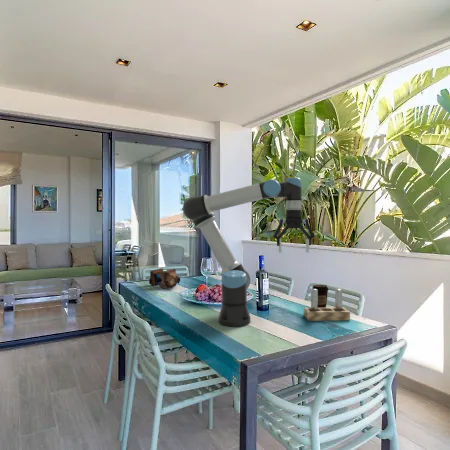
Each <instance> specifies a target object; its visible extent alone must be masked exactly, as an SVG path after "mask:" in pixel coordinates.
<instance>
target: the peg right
mask: <svg viewBox="0 0 450 450" xmlns="http://www.w3.org/2000/svg"><path fill="white" fill-rule="evenodd" d="M334 293H335V295H334V296H335V297H334V298H335V301H334V304H335V305H334V307H335V311H342V307H343V289H342V288H335V292H334Z"/></svg>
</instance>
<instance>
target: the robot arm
mask: <svg viewBox="0 0 450 450" xmlns="http://www.w3.org/2000/svg"><path fill="white" fill-rule="evenodd" d="M273 198H275V199H277V198H285V209H286V210H285V219H282V218H281V219H279V221H278V222H279V223H278V225H277V227H276V230H275V231H274V234H273V236H272V238H274V239H275V240H276V246H277V247H278V253H279V254H281V253H282V239H281V238H282V237H283V236H284V234H285V233H287V231H288V230H289V229H299V230H300V231H301V232H302V233H303V234H304V236H305V237H306V239H305V252H306V253H310V246H311V245H312V239H315V238H316V236H315V233H314V232H313V229H312V228H311V226H310V224H309V223H310V222H309V219H308V218H305V219H303V217H302V213H303V212H302V210H301V209H302V179H301V178H300V177H286V179H285V181H283V182H280V181H278V180H276V179H268V180H266V181H262V182H258V183H255V184H251V185H247V186H243V187H239V188H236V189H232V190H228V191H227V190H226V191H224V192H221V193H215V194H212V195H207V194H203V195H198V196H191V197H189V198H187V199H186V200H185V201H184V202H183V205H182V212H183V214H184V217H186V218H187V219H189V220H191V221H192V223H193V225H194V226H195V228H197V229H200V232H201V233H202V235H203V237H204V239H205V240H206V242H207V244H208V245H209V248H210V249H211V252H212V253H213V255H214V257H215V259H216V260H217V263H218V264H219V266H220V269H221V273H220V275H221V280H220V281H221V308H220V310H219V315H218V323H219V325H222V326H225V327H226V326H227V327H236V328H237V327H243V326H247V325H249V324H250V323H251V314H250V311H249V308H248V306H247V305H248V303H247V299H248V297H247V296H248V295H247V290H248V288H250V285H251V277H250V273H249V272H248V271H247V270H246V269H245V268H244V266H243V264H242V262H238V261H237V260H236V257H235V256H234V254H233V252H232V249H230V247H229V245H228V243H227V241H226V239H225V237H224V235H223V234H222V231H221V230H220V228H219V226H218V224H217V222H216V214H215V212H217V211H220V210H224V209H229V208H233V207H236V206H237V207H238V206H241V205H244V204H248V203H252V202H256V201H260V200H263V199H264V200H265V199H273ZM302 223H303V224H305V227H306V229H307V231H308V232H307V231H306V230H305V228H304V227H303V226H302ZM284 224H286V225H285V227H284V228H283V229H282V230H281V228H282V226H283V225H284ZM280 230H281V231H280ZM279 232H280V233H279Z"/></svg>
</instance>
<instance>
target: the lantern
mask: <svg viewBox="0 0 450 450" xmlns="http://www.w3.org/2000/svg"><path fill="white" fill-rule="evenodd" d="M149 274H150V277H149V280H148V283H149V285H151V287H153V286H159V287H161V288H163V289H168V288H167V287H169V288H172V287H171V286H173V287H176V286H177V284H180V282H181V277H180V276H179V275H180V274H179V275H178V274H177V270H176V268H170V269H167V270H165V269H164V268H159V269H154V270H150V272H149Z"/></svg>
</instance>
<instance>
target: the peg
mask: <svg viewBox="0 0 450 450" xmlns="http://www.w3.org/2000/svg"><path fill="white" fill-rule="evenodd" d="M310 308H311V311H318V289H312V288H311V289H310Z"/></svg>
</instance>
